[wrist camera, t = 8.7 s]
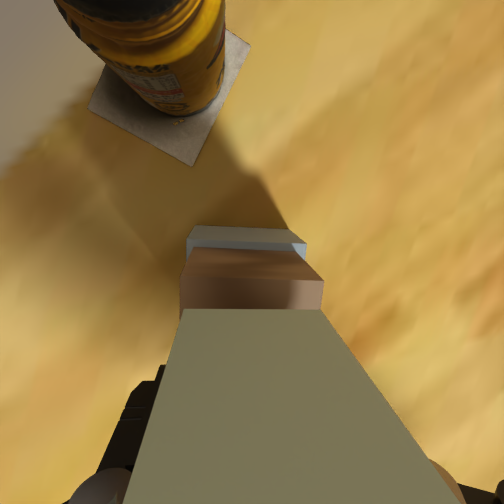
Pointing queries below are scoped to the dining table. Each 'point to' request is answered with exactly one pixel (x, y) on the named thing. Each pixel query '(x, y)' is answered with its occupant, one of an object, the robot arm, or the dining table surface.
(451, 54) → the dining table surface
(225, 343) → the green block
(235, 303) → the tower top
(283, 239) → the tower base
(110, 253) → the dining table surface
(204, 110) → the condiment
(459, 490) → the robot arm
